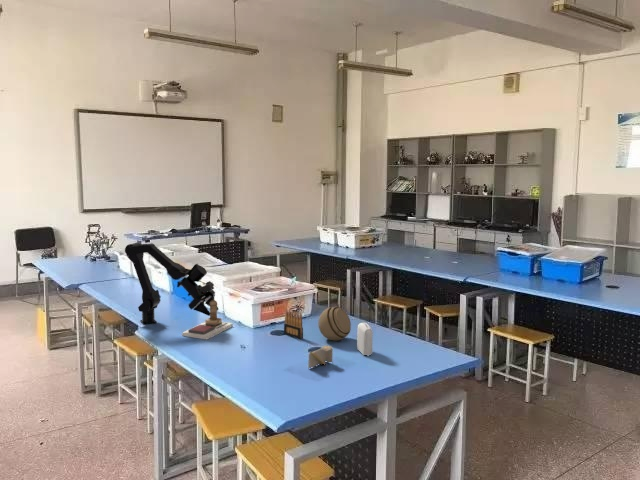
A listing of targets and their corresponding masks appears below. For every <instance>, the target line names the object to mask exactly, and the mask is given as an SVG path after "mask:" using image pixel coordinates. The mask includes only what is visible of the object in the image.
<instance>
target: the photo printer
mask: <svg viewBox="0 0 640 480" xmlns="http://www.w3.org/2000/svg"><path fill="white" fill-rule="evenodd" d="M356 332H357V335H356V338H357V339H356V349H357V351H358V350H359V351H360V352H361V353H362V354H361V353H360V352H359V351H358V352H359V353H360V354H361V355H363V356H364V355H371V354H372V355H373V341H374V339H373V338H374V337H373V336H374V334H373V333H374V332H373V329H372V327H371V326H370V325H369V324H368V323H367V322H360V323H359V324H358V325H357V330H356ZM372 355H371V356H372Z"/></svg>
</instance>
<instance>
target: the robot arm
mask: <svg viewBox="0 0 640 480" xmlns="http://www.w3.org/2000/svg"><path fill="white" fill-rule="evenodd" d="M124 252H125V255H126V256H127V258H128V259H129V260H130V262H132V264H133V268H134V269H135V273H136V276H137V279H138V281H139V284H140V285H139V286H140V288H141V290H142V291H141V292H142V294H141V301H142V303H140V305H139V306H138V307H137V309H138V312H141V318H142V319H140V320H139V321H140V322H141V324H142V325H148V324H156V323H158V321H157V320H156V318H155V310H156V308H158V305H159V304H160V303H161V297H162V296H161V295H160V291H159V289H155V288H154V287H153V284H152V282H151V279H150V276H149V274H148V271H147V267H146V264H145V261H144V254H145V253H146V254H147V253H148V255H149V256H151V257H152V258H153V259H154V260H155V261H157V262H158V263H159V264H160V265H161V266H162V267H163V268H164V269H165V270H166V272H167V274H168V275H169V276H170V277H171V278H172V280H174V281H176V283H177V284H176V287H177V288H180V287H182V288H183V289H184V291H186V293H187V296H188V297H191V298H192V300H191V301H190V303H188V308H189V309H190V310H193V311H195V312H199V313H202V314H204V315H206V316H209V317H210V315H211V314H210V310H208V308H207V307H206V305H207V306H208V307H210V302H211V301H212V300H215V296H216V292H215V291H214V289H215V287H214V285H215V284H214V283H213V282H212V281H210V280H209V281H206V282H205V285H203V286H202V284H197V283H198V282H200V281H201V280H203V278H204V277H205V276H206V275H207V274H208V271H207V270H206V268H205V267H203V266H202V265H199V263H195V264H194V265H193V266H192V267H191V269H189V268H186V267H185V266H184V265H182V264H180V263H178V262H176V261H173V260H172V259H171V258H169V256H167V254H165V253H164V252H163V251H162V250H161V249H160V248H158V247H157V246H156V245H155V244H154V243H152V242H151V243H139V242H133V243H129V244H127V245H126V246H125V248H124ZM180 279H181V280H180ZM177 280H178V281H177ZM196 282H197V283H196ZM218 311H219V306H217V312H218Z"/></svg>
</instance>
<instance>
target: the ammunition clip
mask: <svg viewBox="0 0 640 480" xmlns="http://www.w3.org/2000/svg"><path fill="white" fill-rule="evenodd" d="M284 315H285V316H284V323H283V335H285V336H288V337H291V338H295V339H298V340H303V339H304V327H303V315H302V312H299V311H297V312H296V310H291V309H290V308H289V309H288V308H286V309H285V313H284Z"/></svg>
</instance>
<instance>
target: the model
mask: <svg viewBox="0 0 640 480" xmlns="http://www.w3.org/2000/svg"><path fill="white" fill-rule="evenodd" d="M333 350H334V349H333V347H332V346H329V345H325V346H322V347H321V348H319V349H316V350H314V351H309V352H308V369H309V368H311V367H314V366H316V365H318V364H321V365H322V364H324V365H323V366H326V365H325V364H327V363H325V361H327V362H332V363H333ZM316 367H317V366H316ZM314 368H315V367H314Z"/></svg>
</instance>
